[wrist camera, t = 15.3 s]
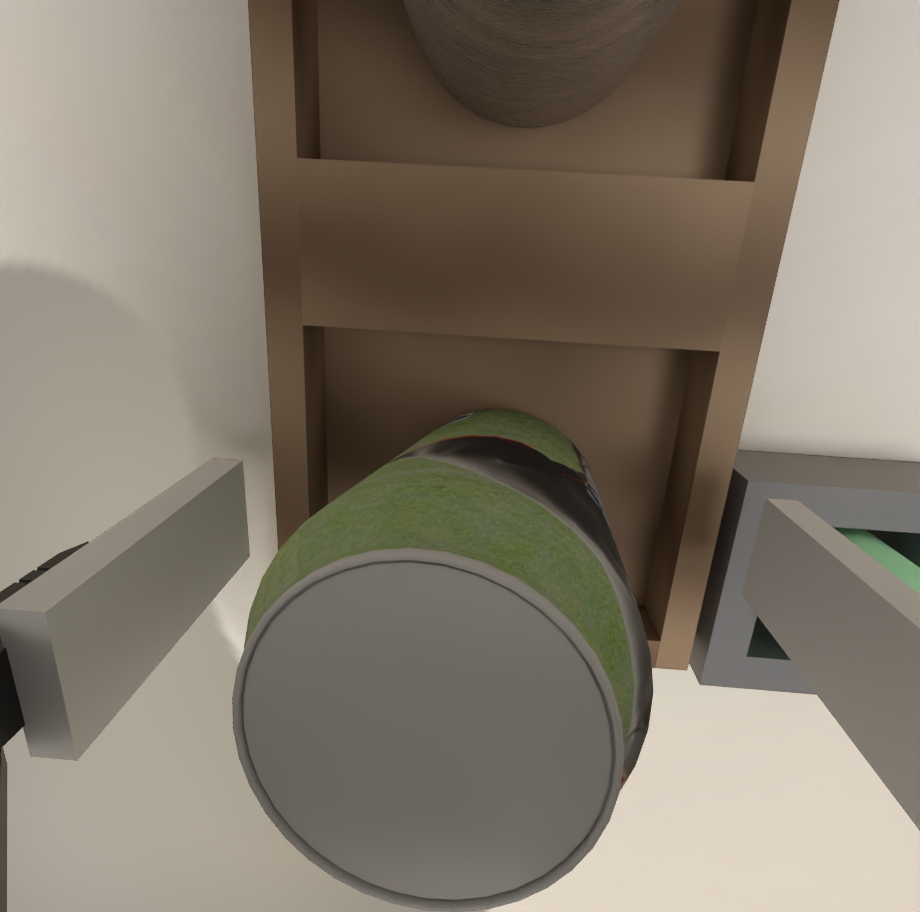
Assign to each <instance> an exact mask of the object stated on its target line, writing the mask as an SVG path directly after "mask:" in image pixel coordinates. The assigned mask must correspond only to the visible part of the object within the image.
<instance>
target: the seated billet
mask: <svg viewBox="0 0 920 912" xmlns="http://www.w3.org/2000/svg"><path fill="white" fill-rule="evenodd" d="M680 2H681V0H404V3H405V6H406V9H407V12H408V15H409V18H410V21H411V24H412V27H413V30H414V33H415V36H416V38H417V41H418V44H419V46H420V49H421V51H422V54H423V56H424V58H425V60H426V61H427V63H428V65H429V67H430V69H431V70H432V72H433V73H434V75H435V76H436V78H437V79H438V81H439V82H440V83H441V85H442V86H443V87H444V88H445V89H446V90H447V91H448V92H449V93H450V95H451V96H452V97H454V98H455V99H456V100H457V101H458V102H459V103H461V104H462V105H463V106H464V107H466V108H467V109H469V110H470V111H472V112H474V113H475V114H477V115H478V116H481V117H483V118H485V119H487V120H490V121H492V122H495V123H498V124H502V125H506V126H511V127H519V128H540V127H546V126H551V125H556V124H559V123H562V122H565V121H568V120H571V119H573V118H575V117H577V116H579V115H581V114H584V113H586V112H587V111H589V110H590V109H592V108H593V107H595V106H596V105H598V104H599V103H601V102H602V101H603V100H604V99H605V98H607V97H608V96H609V95H610V94H611V93H612V92H614V91H615V89H616V88H617V87H618V86H619V85H620V84H621V83H622V82H623V81H624V80H625V79H626V77H627V76H628V75H629V73H630V72H631V71H632V69H633V68H634V66H635V65H636V64H637V62H638V61H639V59H640V58H641V57H642V55H643V54H644V52H645V51H646V50H647V48H648V47H649V45H650V44H651V43H652V41H653V40H654V38H655V37H656V35H657V34H658V33H659V31H660V30H661V28H662V27H663V26H664V24H665V23H666V21H667V20H668V18H669V17H670V16H671V14H672V13H673V11H674V10H675V9H676V7H677V6H678V4H679V3H680Z"/></svg>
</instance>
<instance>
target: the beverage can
mask: <svg viewBox="0 0 920 912" xmlns="http://www.w3.org/2000/svg"><path fill="white" fill-rule="evenodd" d="M652 697H653V680H652V665H651V653H650V649H649V645H648V641H647V638H646V634H645V630H644V626H643V623H642V619H641V616H640V613H639V610H638V607H637V604H636V601H635V598H634V595H633V592H632V589H631V586H630V584H629V581H628V578H627V575H626V572H625V569H624V566H623V563H622V560H621V557H620V554H619V552H618V549H617V546H616V543H615V540H614V537H613V534H612V531H611V528H610V525H609V522H608V520H607V517H606V514H605V511H604V508H603V505H602V502H601V499H600V496H599V493H598V490H597V488H596V485H595V482H594V479H593V476H592V473H591V471H590V469H589V467H588V465H587V463H586V461H585V459H584V457H583V456H582V455H581V453H580V452H579V450H578V449H577V448H576V446H575V445H574V444H573V443H572V442H571V441H570V440H569V439H568V438H567V437H566V436H565V435H564V434H563V433H562V432H561V431H559V430H558V429H556V428H555V427H553V426H552V425H550V424H549V423H548V422H546V421H544V420H541V419H539V418H537V417H535V416H532V415H530V414H526V413H523V412H519V411H515V410H506V409H487V410H477V411H474V412H470V413H467V414H463V415H460V416H458V417H456V418H454V419H452V420H450V421H448V422H446V423H444V424H443V425H441V426H440V427H438V428H437V429H436V430H434V431H433V432H431V433H430V434H428V435H427V436H426V437H424V438H423V439H421V440H420V441H418V442H417V443H415V444H414V445H413V446H411V447H410V448H408V449H407V450H405V451H404V452H403V453H401V454H400V455H398V456H397V457H395V458H394V459H392V460H391V461H390V462H388V463H387V464H385V465H384V466H382V467H381V468H380V469H378V470H377V471H375V472H374V473H372V474H371V475H369V476H368V477H367V478H365V479H364V480H362V481H361V482H359V483H358V484H357V485H355V486H354V487H352V488H351V489H349V490H348V491H346V492H345V493H344V494H342V495H341V496H339V497H338V498H336V499H335V500H333V501H332V502H331V503H329V504H328V505H327V506H325V507H324V508H323V509H321V510H320V511H319V512H317V513H316V514H314V515H313V516H312V517H310V518H309V519H308V520H306V521H305V522H304V523H303V524H302V525H301V526H300V527H299V528H298V529H297V530H296V532H295V533H294V534H293V535H292V536H291V537H290V538H289V539H288V540H287V541H286V543H285V544H284V545H283V546H282V547H281V548H280V550H279V551H278V553H277V555H276V556H275V558H274V559H273V561H272V563H271V564H270V566H269V568H268V569H267V571H266V573H265V574H264V576H263V578H262V580H261V583H260V585H259V588H258V591H257V594H256V596H255V599H254V602H253V604H252V607H251V610H250V614H249V620H248V626H247V632H246V638H245V645H244V652H243V655H242V657H241V660H240V663H239V665H238V668H237V673H236V679H235V685H234V691H233V698H232V701H233V702H232V704H233V730H234V735H235V740H236V744H237V750H238V755H239V759H240V761H241V764H242V767H243V769H244V772H245V774H246V777H247V780H248V782H249V785H250V787H251V789H252V790H253V792H254V794H255V796H256V797H257V799H258V801H259V803H260V804H261V806H262V808H263V809H264V811H265V813H266V814H267V815H268V817H269V818H270V819H271V821H272V822H273V823H274V824H275V826H276V827H277V828H278V829H279V831H280V832H281V833H282V834H283V836H284V837H285V838H286V839H287V840H288V841H289V842H290V843H291V844H292V845H293V846H295V847H296V848H297V849H298V850H299V851H300V852H301V853H302V854H303V855H304V856H305V857H306V858H307V859H308V860H310V861H311V862H313V863H314V864H315V865H317V866H318V867H320V868H321V869H323V870H324V871H325V872H327V873H328V874H330V875H331V876H332V877H334V878H335V879H337V880H339V881H341V882H343V883H345V884H347V885H349V886H351V887H353V888H354V889H356V890H358V891H360V892H362V893H365V894H367V895H370V896H373V897H376V898H379V899H382V900H384V901H387V902H390V903H393V904H397V905H401V906H407V907H411V908H416V909H421V910H429V911H446V912H448V911H449V912H462V911H463V912H464V911H473V910H484V909H491V908H495V907H498V906H502V905H506V904H510V903H513V902H517V901H520V900H522V899H524V898H527V897H529V896H531V895H533V894H535V893H537V892H539V891H542V890H544V889H546V888H548V887H549V886H551V885H552V884H553V883H555V882H556V881H558V880H559V879H560V878H562V877H563V876H565V875H566V874H567V873H569V872H570V871H572V870H573V869H574V868H575V866H576V865H577V864H578V863H579V862H580V861H581V860H582V859H583V858H584V857H585V856H586V855H587V854H588V853H589V851H590V850H591V849H592V848H593V847H594V845H595V844H596V842H597V841H598V839H599V837H600V836H601V834H602V832H603V831H604V829H605V827H606V826H607V824H608V822H609V821H610V818H611V815H612V812H613V809H614V806H615V804H616V801H617V798H618V795H619V792H620V790H621V789H622V787H623V785H624V784H625V782H626V780H627V779H628V777H629V775H630V774H631V772H632V770H633V769H634V767H635V765H636V762H637V760H638V757H639V754H640V751H641V748H642V745H643V743H644V740H645V737H646V734H647V731H648V727H649V719H650V712H651V705H652Z"/></svg>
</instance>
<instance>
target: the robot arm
mask: <svg viewBox="0 0 920 912" xmlns="http://www.w3.org/2000/svg"><path fill="white" fill-rule="evenodd" d="M249 556H250V553H249V540H248V526H247V513H246V499H245V486H244V472H243V460H234V459H220V458H212V459H211V460H209V461H208V462H206V463H205V464H204V465H202V466H201V467H199V468H198V469H196V470H195V471H193V472H192V473H190V474H189V475H187V476H186V477H184V478H183V479H182V480H180V481H179V482H177V483H176V484H174V485H173V486H171V487H170V488H169V489H167V490H165V491H164V492H162V493H161V494H160V495H158V496H157V497H155V498H154V499H152V500H151V501H149V502H148V503H146V504H145V505H143V506H142V507H140V508H139V509H138V510H136V511H135V512H133V513H132V514H130V515H129V516H127V517H126V518H124V519H123V520H121V521H120V522H118V523H117V524H116V525H114V526H113V527H111V528H110V529H108V530H107V531H105V532H104V533H102V534H101V535H99V536H98V537H97V538H95V539H94V540H92V541H91V542H86V543H83V544H81V545H78V546H76V547H73V548H71V549H68V550H66V551H63V552H61V553H59V554H57V555H56V556H54V557H53V558H51V559H50V560H48V561H47V562H45V563H44V564H42V565H41V566H39V567H38V568H37V571H35V570H33V571H32V572H30V573H28V574H27V575H25V576H24V577H22V578H21V579H20V580H19V583H13V584H12V585H10V586H9V587H7V588H6V589H4V590H3V591H1V592H0V912H7V762H6V758H5V754H4V750H3V746H4V745H5V744H6V743H7V742H8V741H9V740H10V739H11V738H12V737H13V736H14V735H15V734H16V733H17V732H18V731H19V730H20V729H21V728H22V727H23V729H24V733H25V737H26V741H27V745H28V749H29V753H30V756H33V757H43V758H54V759H64V760H75V761H77V760H78V759H79V758H80V757H81V756H82V754H83V753H84V752H85V751H86V750H87V748H88V747H89V746H90V745H91V744H92V742H93V741H94V740H95V739H96V738H97V737H98V735H99V734H100V733H101V732H102V731H103V729H104V728H105V727H106V726H107V725H108V724H109V722H110V721H111V720H112V719H113V717H114V716H115V715H116V714H117V713H118V712H119V710H120V709H121V708H122V707H123V706H124V705H125V703H126V702H127V701H128V700H129V699H130V697H131V696H132V695H133V694H134V693H135V691H136V690H137V689H138V688H139V687H140V685H141V684H142V683H143V682H144V681H145V680H146V678H147V677H148V676H149V675H150V674H151V672H152V671H153V670H154V669H155V668H156V667H157V665H158V664H159V663H160V662H161V661H162V659H163V658H164V657H165V656H166V655H167V654H168V652H169V651H170V650H171V649H172V648H173V646H174V645H175V644H176V643H177V642H178V640H179V639H180V638H181V637H182V636H183V635H184V633H185V632H186V631H187V630H188V629H189V627H190V626H191V625H192V624H193V623H194V621H195V620H196V619H197V618H198V617H199V616H200V614H201V613H202V612H203V611H204V610H205V608H206V607H207V606H208V605H209V604H210V603H211V601H212V600H213V599H214V598H215V597H216V595H217V594H218V593H219V592H220V591H221V590H222V588H223V587H224V586H225V585H226V584H227V582H228V581H229V580H230V579H231V578H232V576H233V575H234V574H235V573H236V572H237V571H238V569H239V568H240V567H241V566H242V565H243V563H244V562H245V561H246V560H247V559H248V558H249ZM742 596H743V597H744V599H745V600H746V601H747V603H748V604H749V605H750V607H751V608H752V609H753V611H754V612H755V613H756V615H757V616H758V617H759V618H760V620H761V621H762V622H763V624H764V625H765V626H766V628H767V629H768V630H769V632H770V633H771V634H772V636H773V637H774V638H775V640H776V641H777V642H778V644H779V645H780V646H781V648H782V649H783V650H784V652H785V653H786V654H787V656H788V657H789V658H790V660H791V661H792V662H793V664H794V665H795V666H796V667H797V669H798V670H799V671H800V673H801V674H802V675H803V677H804V678H805V679H806V681H807V682H808V683H809V685H810V686H811V687H812V689H813V690H814V691H815V693H816V694H817V695H818V697H819V698H820V699H821V701H822V702H823V703H824V705H825V706H826V707H827V709H828V710H829V711H830V712H831V714H832V715H833V716H834V718H835V719H836V720H837V722H838V723H839V724H840V726H841V727H842V728H843V730H844V731H845V732H846V734H847V735H848V736H849V738H850V739H851V740H852V742H853V743H854V744H855V746H856V747H857V748H858V750H859V751H860V752H861V754H862V755H863V756H864V758H865V759H866V760H867V761H868V763H869V764H870V765H871V767H872V768H873V769H874V771H875V772H876V773H877V775H878V776H879V777H880V779H881V780H882V781H883V783H884V784H885V785H886V787H887V788H888V789H889V791H890V792H891V793H892V795H893V796H894V797H895V799H896V800H897V801H898V803H899V804H900V805H901V806H902V808H903V809H904V810H905V812H906V813H907V814H908V816H909V817H910V818H911V820H912V821H913V822H914V824H915V825H916V826H917V828H918V829H919V830H920V594H919V593H918V592H916V591H915V590H914V589H912V588H911V587H910V586H908V585H907V584H906V583H904V582H903V581H902V580H901V579H899V578H898V577H897V576H895V575H894V574H893V573H891V572H890V571H889V570H888V569H886V568H885V567H884V566H882V565H881V564H880V563H878V562H877V561H876V560H875V559H873V558H872V557H871V556H869V555H868V554H867V553H865V552H864V551H863V550H862V549H860V548H859V547H858V546H856V545H855V544H854V543H852V542H851V541H850V540H849V539H847V538H846V537H845V536H843V535H842V534H841V533H839V532H838V531H837V530H836V529H834V528H833V527H832V526H830V525H829V524H828V523H826V522H825V521H824V520H823V519H821V518H820V517H819V516H817V515H816V514H815V513H813V512H812V511H811V510H810V509H808V508H807V507H806V506H804V505H803V504H802V503H800V502H799V501H798V500H785V499H772V498H766V500H765V504H764V508H763V512H762V516H761V520H760V524H759V528H758V532H757V536H756V540H755V544H754V548H753V552H752V556H751V560H750V564H749V568H748V572H747V576H746V580H745V583H744V587H743V591H742Z"/></svg>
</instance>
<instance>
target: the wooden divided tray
mask: <svg viewBox="0 0 920 912" xmlns="http://www.w3.org/2000/svg"><path fill="white" fill-rule="evenodd" d="M838 4H839V0H681V2H680V3H679V4H678V6H677V7H676V9H675V10H674V11H673V13H672V14H671V16H670V17H669V18H668V20H667V21H666V23H665V24H664V26H663V27H662V28H661V30H660V31H659V33H658V34H657V35H656V37H655V38H654V40H653V41H652V43H651V44H650V45H649V47H648V48H647V50H646V51H645V52H644V54H643V55H642V57H641V58H640V59H639V61H638V62H637V64H636V65H635V66H634V68H633V69H632V71H631V72H630V73H629V75H628V76H627V77H626V79H625V80H624V81H623V82H622V83H621V84H620V85H619V86H618V87H617V88H616V89H615V91H614V92H612V93H611V94H610V95H609V96H608V97H607V98H605V99H604V100H603V101H602V102H601V103H599V104H598V105H596V106H595V107H593V108H592V109H590V110H589V111H587V112H586V113H584V114H581V115H579V116H577V117H575V118H573V119H571V120H568V121H565V122H562V123H559V124H556V125H551V126H546V127H540V128H519V127H511V126H506V125H502V124H498V123H495V122H492V121H490V120H487V119H485V118H483V117H481V116H478V115H477V114H475V113H474V112H472V111H470V110H469V109H467V108H466V107H464V106H463V105H462V104H461V103H459V102H458V101H457V100H456V99H455V98H454V97H452V96H451V95H450V93H449V92H448V91H447V90H446V89H445V88H444V87H443V86H442V85H441V83H440V82H439V81H438V79H437V78H436V76H435V75H434V73H433V72H432V70H431V69H430V67H429V65H428V63H427V61H426V60H425V58H424V56H423V54H422V51H421V49H420V46H419V44H418V41H417V38H416V36H415V33H414V30H413V27H412V24H411V21H410V18H409V15H408V12H407V9H406V6H405V3H404V0H248V10H249V28H250V46H251V64H252V82H253V100H254V118H255V136H256V154H257V172H258V191H259V209H260V227H261V245H262V263H263V281H264V299H265V317H266V335H267V353H268V372H269V390H270V408H271V426H272V444H273V462H274V480H275V498H276V516H277V534H278V551H279V550H280V548H281V547H282V546H283V545H284V544H285V543H286V541H287V540H288V539H289V538H290V537H291V536H292V535H293V534H294V533H295V532H296V530H297V529H298V528H299V527H300V526H301V525H302V524H303V523H304V522H305V521H306V520H308V519H309V518H310V517H312V516H313V515H314V514H316V513H317V512H319V511H320V510H321V509H323V508H324V507H325V506H327V505H328V504H329V503H331V502H332V501H333V500H335V499H336V498H338V497H339V496H341V495H342V494H344V493H345V492H346V491H348V490H349V489H351V488H352V487H354V486H355V485H357V484H358V483H359V482H361V481H362V480H364V479H365V478H367V477H368V476H369V475H371V474H372V473H374V472H375V471H377V470H378V469H380V468H381V467H382V466H384V465H385V464H387V463H388V462H390V461H391V460H392V459H394V458H395V457H397V456H398V455H400V454H401V453H403V452H404V451H405V450H407V449H408V448H410V447H411V446H413V445H414V444H415V443H417V442H418V441H420V440H421V439H423V438H424V437H426V436H427V435H428V434H430V433H431V432H433V431H434V430H436V429H437V428H438V427H440V426H441V425H443V424H444V423H446V422H448V421H450V420H452V419H454V418H456V417H458V416H460V415H463V414H467V413H470V412H474V411H477V410H487V409H506V410H515V411H519V412H523V413H526V414H530V415H532V416H535V417H537V418H539V419H541V420H544V421H546V422H548V423H549V424H550V425H552V426H553V427H555V428H556V429H558V430H559V431H561V432H562V433H563V434H564V435H565V436H566V437H567V438H568V439H569V440H570V441H571V442H572V443H573V444H574V445H575V446H576V448H577V449H578V450H579V452H580V453H581V455H582V456H583V457H584V459H585V461H586V463H587V465H588V467H589V469H590V471H591V473H592V476H593V479H594V482H595V485H596V488H597V490H598V493H599V496H600V499H601V502H602V505H603V508H604V511H605V514H606V517H607V520H608V522H609V525H610V528H611V531H612V534H613V537H614V540H615V543H616V546H617V549H618V552H619V554H620V557H621V560H622V563H623V566H624V569H625V572H626V575H627V578H628V581H629V584H630V586H631V589H632V592H633V595H634V598H635V601H636V604H637V607H638V610H639V613H640V616H641V619H642V623H643V626H644V630H645V634H646V638H647V641H648V645H649V649H650V653H651V665H652V668H663V669H675V670H687V668H688V664H689V660H690V655H691V651H692V646H693V642H694V638H695V633H696V629H697V624H698V620H699V616H700V611H701V607H702V602H703V598H704V594H705V589H706V585H707V580H708V576H709V572H710V567H711V563H712V558H713V554H714V550H715V545H716V541H717V536H718V532H719V528H720V523H721V519H722V514H723V510H724V506H725V501H726V497H727V492H728V488H729V484H730V479H731V475H732V470H733V466H734V462H735V457H736V453H737V449H738V444H739V440H740V435H741V431H742V427H743V422H744V418H745V413H746V409H747V405H748V400H749V396H750V391H751V387H752V383H753V378H754V374H755V369H756V365H757V361H758V356H759V352H760V347H761V343H762V339H763V334H764V330H765V325H766V321H767V317H768V312H769V308H770V303H771V299H772V295H773V290H774V286H775V281H776V277H777V273H778V268H779V264H780V259H781V255H782V251H783V246H784V242H785V237H786V233H787V229H788V224H789V220H790V215H791V211H792V207H793V202H794V198H795V193H796V189H797V185H798V180H799V176H800V171H801V167H802V163H803V158H804V154H805V149H806V145H807V141H808V136H809V132H810V127H811V123H812V119H813V114H814V110H815V105H816V101H817V97H818V92H819V88H820V83H821V79H822V75H823V70H824V66H825V61H826V57H827V53H828V48H829V44H830V39H831V35H832V31H833V26H834V22H835V17H836V13H837V9H838Z"/></svg>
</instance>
